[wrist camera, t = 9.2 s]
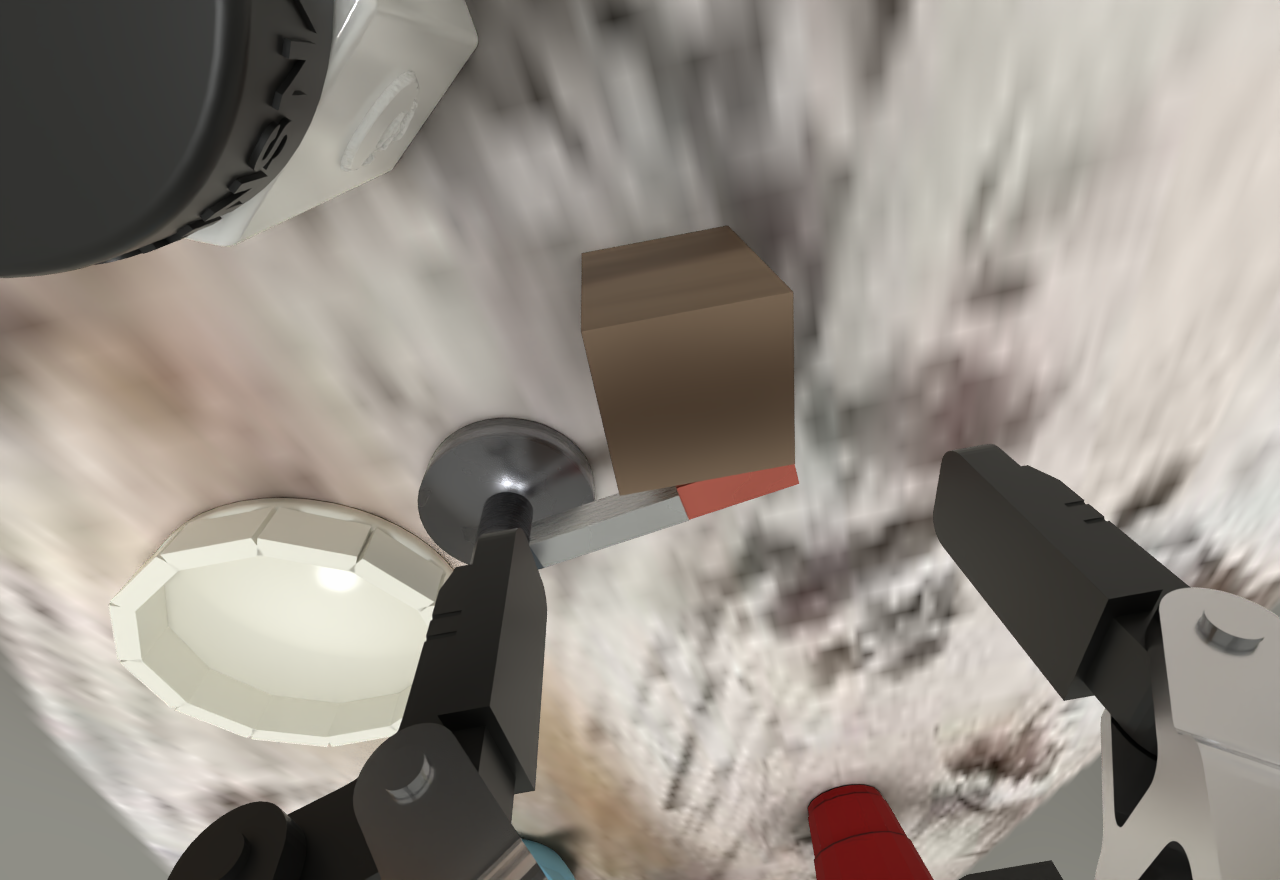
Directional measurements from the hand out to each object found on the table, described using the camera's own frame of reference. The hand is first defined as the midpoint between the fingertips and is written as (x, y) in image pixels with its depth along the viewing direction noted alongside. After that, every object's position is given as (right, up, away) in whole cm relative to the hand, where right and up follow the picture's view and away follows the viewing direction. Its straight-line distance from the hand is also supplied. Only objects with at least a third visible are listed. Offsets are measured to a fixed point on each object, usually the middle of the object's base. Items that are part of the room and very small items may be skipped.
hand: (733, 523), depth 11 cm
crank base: (-7, -1, +13) cm, 15 cm away
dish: (-17, -7, +16) cm, 24 cm away
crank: (-1, +1, +12) cm, 12 cm away
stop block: (-1, +6, +9) cm, 11 cm away
